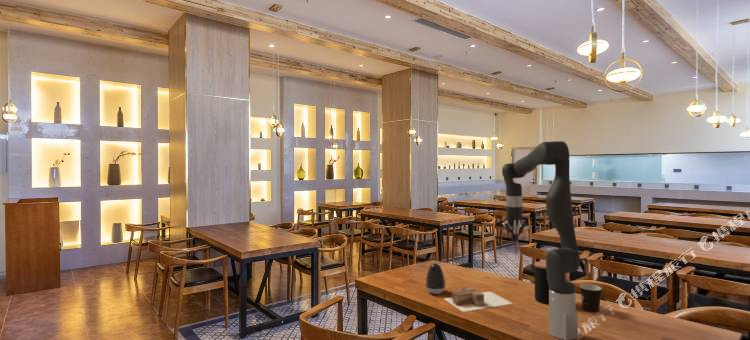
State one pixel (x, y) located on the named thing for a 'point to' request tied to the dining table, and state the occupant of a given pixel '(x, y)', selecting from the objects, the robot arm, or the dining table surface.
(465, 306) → the mat
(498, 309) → the dining table surface
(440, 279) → the black egg-shaped piece
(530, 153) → the robot arm
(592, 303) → the coffee mug
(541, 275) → the coffee jar
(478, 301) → the t block
